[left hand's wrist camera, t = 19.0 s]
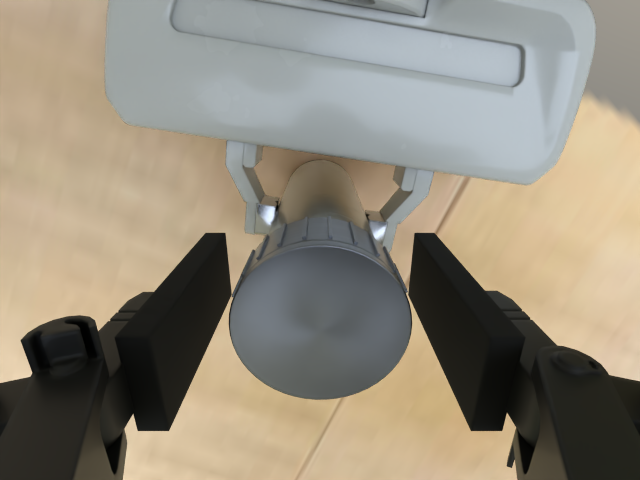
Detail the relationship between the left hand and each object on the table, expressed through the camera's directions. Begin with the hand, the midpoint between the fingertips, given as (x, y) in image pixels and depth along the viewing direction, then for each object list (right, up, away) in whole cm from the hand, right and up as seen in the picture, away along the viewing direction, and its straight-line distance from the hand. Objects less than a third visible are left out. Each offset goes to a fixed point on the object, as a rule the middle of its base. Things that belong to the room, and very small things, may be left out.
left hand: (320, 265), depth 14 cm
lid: (0, -1, -4) cm, 4 cm away
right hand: (0, +1, +5) cm, 5 cm away
